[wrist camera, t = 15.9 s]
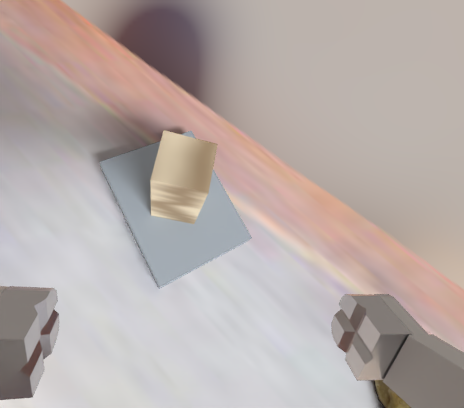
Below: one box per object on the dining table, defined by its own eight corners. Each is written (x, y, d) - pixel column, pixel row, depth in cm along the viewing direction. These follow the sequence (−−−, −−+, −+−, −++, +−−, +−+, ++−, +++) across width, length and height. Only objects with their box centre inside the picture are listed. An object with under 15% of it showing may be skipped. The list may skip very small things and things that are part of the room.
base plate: (102, 173, 38) (99, 161, 35) (188, 142, 42) (191, 130, 39) (159, 289, 35) (159, 286, 32) (244, 243, 39) (251, 237, 36)
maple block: (150, 215, 34) (150, 179, 25) (160, 176, 36) (163, 130, 27) (193, 224, 35) (208, 192, 26) (201, 186, 37) (217, 144, 28)
